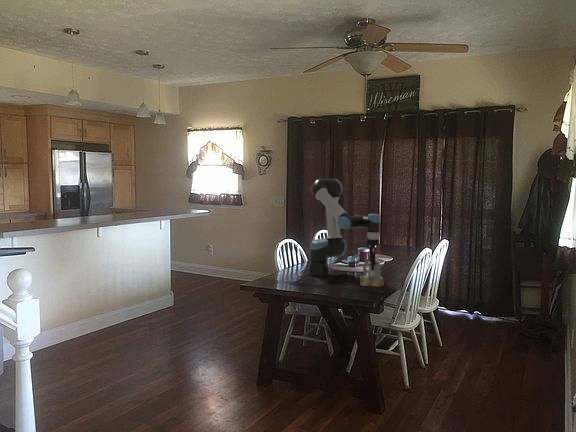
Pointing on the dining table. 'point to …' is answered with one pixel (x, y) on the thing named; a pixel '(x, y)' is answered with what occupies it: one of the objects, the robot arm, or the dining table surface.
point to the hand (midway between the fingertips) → (371, 273)
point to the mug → (377, 269)
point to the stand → (371, 281)
